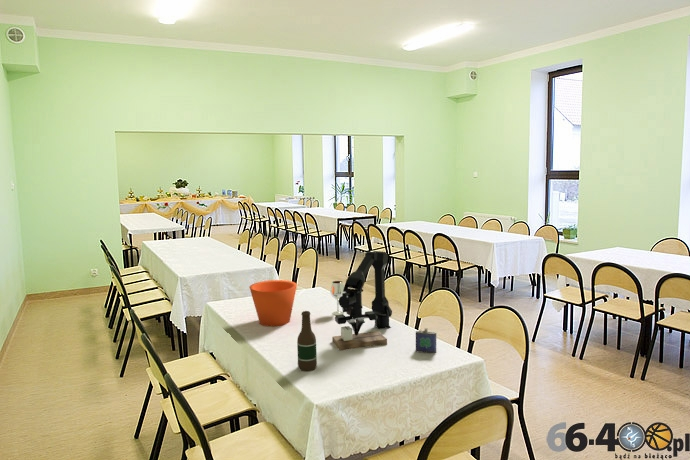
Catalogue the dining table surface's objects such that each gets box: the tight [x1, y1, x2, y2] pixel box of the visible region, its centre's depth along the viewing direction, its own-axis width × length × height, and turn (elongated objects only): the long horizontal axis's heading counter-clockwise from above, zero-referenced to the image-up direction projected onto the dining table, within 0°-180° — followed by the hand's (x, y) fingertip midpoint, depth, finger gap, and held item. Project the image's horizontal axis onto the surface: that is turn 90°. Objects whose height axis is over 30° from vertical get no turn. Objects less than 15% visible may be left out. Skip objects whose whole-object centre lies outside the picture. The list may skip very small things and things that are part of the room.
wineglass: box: [330, 280, 345, 316], centre depth 284 cm, size 8×8×18 cm
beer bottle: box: [296, 310, 318, 372], centre depth 210 cm, size 8×8×24 cm
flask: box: [415, 327, 437, 354], centre depth 226 cm, size 9×3×11 cm, turn 74°
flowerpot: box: [249, 279, 298, 327], centre depth 272 cm, size 25×25×20 cm
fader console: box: [331, 330, 388, 351], centre depth 239 cm, size 23×12×3 cm, turn 107°
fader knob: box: [340, 325, 353, 341], centre depth 236 cm, size 4×5×5 cm
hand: (356, 335), depth 238 cm, fingers closed
